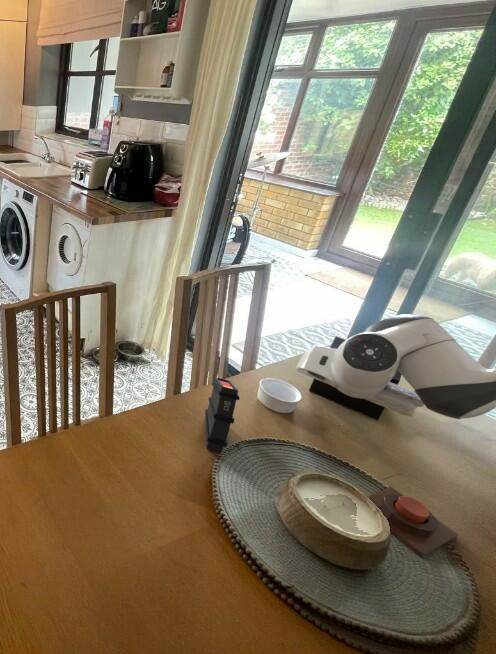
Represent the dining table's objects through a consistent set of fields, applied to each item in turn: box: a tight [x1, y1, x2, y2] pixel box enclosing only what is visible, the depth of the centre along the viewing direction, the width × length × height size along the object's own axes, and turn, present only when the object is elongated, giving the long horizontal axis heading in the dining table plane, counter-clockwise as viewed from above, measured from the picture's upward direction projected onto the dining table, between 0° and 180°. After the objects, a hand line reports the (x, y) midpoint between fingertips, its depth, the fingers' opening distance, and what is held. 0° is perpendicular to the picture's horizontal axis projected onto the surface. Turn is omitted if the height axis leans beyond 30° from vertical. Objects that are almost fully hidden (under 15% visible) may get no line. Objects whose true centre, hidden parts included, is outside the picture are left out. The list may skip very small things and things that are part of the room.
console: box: [308, 336, 402, 421], centre depth 105 cm, size 12×14×12 cm
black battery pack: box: [204, 376, 240, 454], centre depth 93 cm, size 4×13×15 cm, turn 155°
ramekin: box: [257, 377, 303, 414], centre depth 103 cm, size 9×9×4 cm
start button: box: [395, 495, 430, 523], centre depth 73 cm, size 4×4×2 cm
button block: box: [367, 486, 459, 559], centre depth 74 cm, size 10×10×4 cm
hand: (349, 390), depth 94 cm, fingers closed
